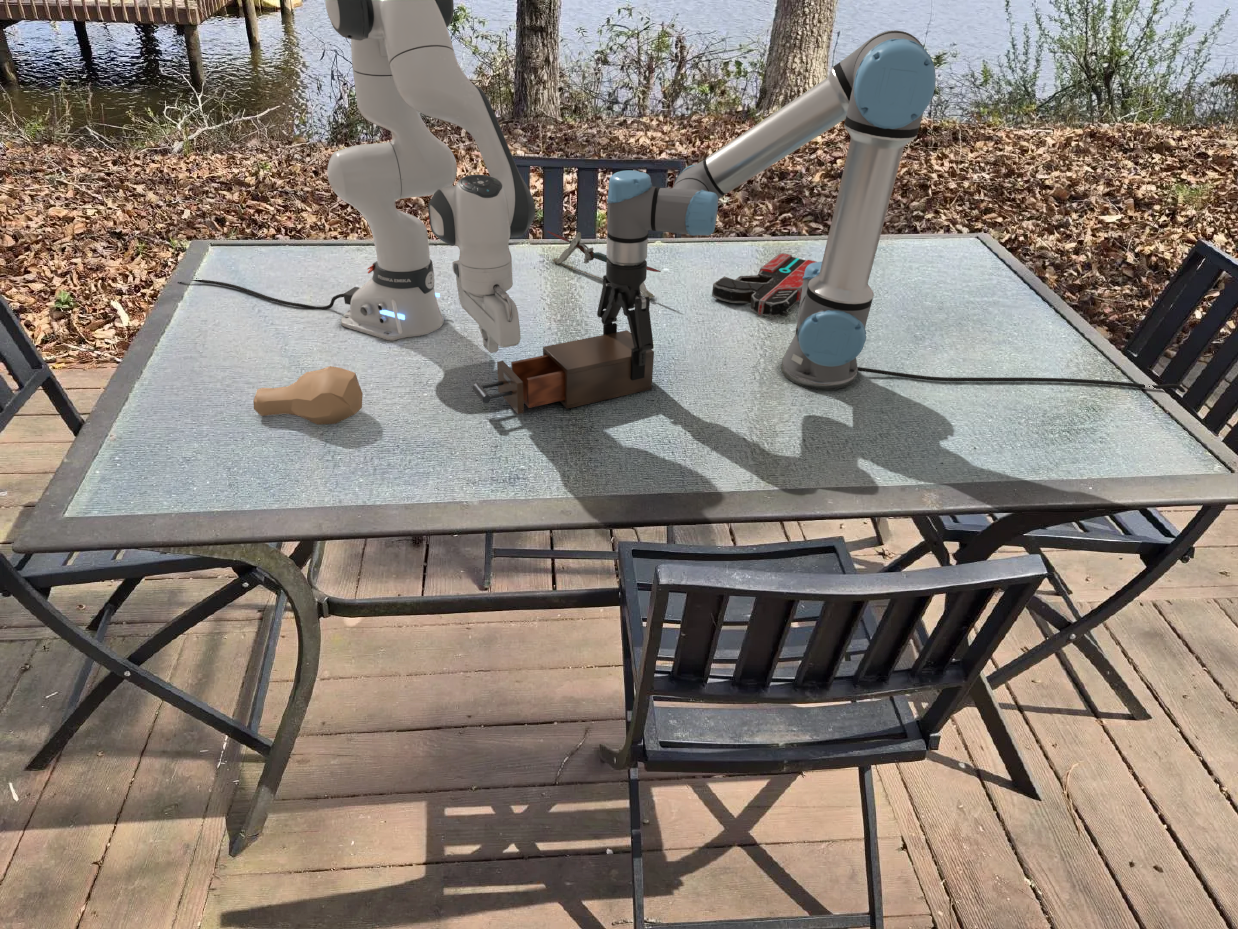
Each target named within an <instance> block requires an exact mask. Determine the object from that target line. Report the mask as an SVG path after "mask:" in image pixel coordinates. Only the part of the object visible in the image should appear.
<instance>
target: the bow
mask: <svg viewBox="0 0 1238 929" xmlns="http://www.w3.org/2000/svg"><path fill="white" fill-rule="evenodd" d="M546 232H547V233H548V234H550V235H551V236H553V237H554V238H555V237H556V238H558V239H559V240H562V241H565V242H568V243H569V246H568V247H567V248H565V249H564V251H562V253H561V254H560V256H559V257H558V258H557V257H555V258H553V259H552V262H553V263H555V264H558V265H559V264H560V265H562V266H565V267H568V268H570V269H573V270H576V271H577V272H578V271H579V272H581V273H584V274H587V275H589V276H592V277H595V278H597V279H600V280H602V281H603V277H602V278H601V277H599V276H596V275H594V274H591V273H588V272H585V271H584V270H581V269H577V268H575V267H573V266H570V265H568V264H564V262H566V261H567V260H568V259H569V257H570V256H571V255H572V254H573V252H574V251H576V250H577V249H578V250H579V251H580V252H581V253H583V254H584V258H583V264H585V265H586V264H589V263H590V262H591V261H593V260H594V259H595V260H598V261H601V262H603V263H606V261H607V259H608V258H607V257H606V253H605V254H604V253H602V252H597V251H596V252H595V251H594V247H588V246H587V244H585V243H582V242H581V241H582V233H581V231H580V232H577V233H576V235H575V237H574V238H573V239H571V240H569V239H568V238H566V237H564V236H563V235H560V234H557V233H555V232H552V231H549V230H546ZM647 271H648V272H649V271H650V272H655V273H661V272H662V270H659V269H656V268H654V267H651V266H648V265H647ZM640 292H641V296H643V297H649V299H650V300H651V299H652V298H655V295H654V294H653V293H651V292H650V290H648V289H647V287H646V284H645V281H644V282H643V283H642V284H641V285H640Z"/></svg>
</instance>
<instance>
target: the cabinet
mask: <svg viewBox="0 0 1238 929" xmlns="http://www.w3.org/2000/svg"><path fill="white" fill-rule="evenodd" d="M632 348H634V344H633V340H632V336H631V332H630V330H626V329H625V330H621V331H617V332H616V333H611V334H606V335H603V334H601V335H595V336H590V337H586V338H580V339H576V340H571V341H570V340H569V341H565V342H560V343H555V344H550V345H546V346H542V356H543V355H548V356H549V357H550V358H551V359H552V360H553V361H554V362H555V363H556V364H557V365H558V366H559V367H561V368H562V369H563V370H564V371H565V400H562V401H559V402H560V404H561V405H563V407H564V408H565V409H566V410H568V409H572V408H575V407H576V408H577V407H582V406H585V405H590V404H594V403H598V402H603V401H607V400H611V399H615V398H619V397H624V396H629V395H632V394H638V393H641V392H647V391H649V390H652V388H653V375H654V374H653V372H654V361H655V359H654V358H655V351H654V349H651V350H647V351H646V363H645V375H644V378H641V379H637V380H633V381H632V380H631V379H630V376H631V351H632V350H631V349H632Z"/></svg>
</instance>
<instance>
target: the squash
mask: <svg viewBox="0 0 1238 929" xmlns="http://www.w3.org/2000/svg"><path fill="white" fill-rule="evenodd" d="M255 392H256V393H255V394H254V398H253V400H252V401H253V410H254V411H255V412H256V413H257V414H259V416H261V417H263V416H264V417H265V416H273V415H292V416H298V417H299V418H302V419H304V420H306V421H308V422H311V423H313V424H315V425H317V426H319V425H337V424H339V423H340V422H342V421H345V420H346V419H349V418H350V417H352V416H354V415H356V414H357V413H358V412H359V411H360V410H361V409H362V408H363V391H362V388H361V386H360V383H359V380H358V377H357V373H356V372H354V371H352V370H348V369H345V368H343V367H337V366H332V365H329V366H326V367H323V368H320V369H317V370H312V371H311V370H310V371H306V372H305V373H303V374H302V375H300V376H298V379H297V380H296V381H295V382H293V383H291V384H289V385H288V386H280V387H273V388H272V387H260V388H257V389H256V391H255Z"/></svg>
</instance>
